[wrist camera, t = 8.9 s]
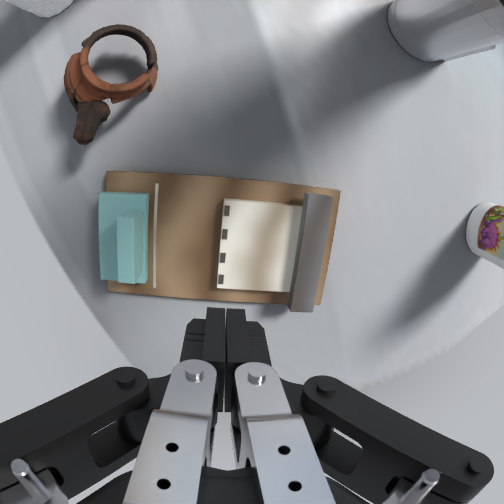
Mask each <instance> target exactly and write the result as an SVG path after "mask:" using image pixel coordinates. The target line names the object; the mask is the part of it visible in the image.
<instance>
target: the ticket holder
mask: <svg viewBox="0 0 504 504" xmlns="http://www.w3.org/2000/svg"><path fill="white" fill-rule="evenodd" d="M106 192H127V193H148V194H149V213H148V280H147V281H146V283H135V284H131V283H120V282H118V281H113V280H107V285H108V291H114V292H123V293H133V294H144V295H155V296H166V297H178V298H191V299H205V300H220V301H236V302H254V303H275V304H288V307H289V309H290V312H313V308H314V305H320V304H321V299H322V294H323V289H324V284H325V279H326V274H327V269H328V264H329V258H330V253H331V247H332V242H333V236H334V230H335V224H336V218H337V212H338V205H339V199H340V192H341V191H339V190H334V189H327V188H320V187H312V186H304V185H296V184H288V183H279V182H270V181H261V180H251V179H240V178H229V177H217V176H204V175H190V174H173V173H153V172H127V171H107V172H106Z"/></svg>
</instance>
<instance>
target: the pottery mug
mask: <svg viewBox="0 0 504 504" xmlns="http://www.w3.org/2000/svg"><path fill="white" fill-rule="evenodd" d="M114 34H117V35H125V36H128V37H131V38H133V39H134V40H136V41H137V42H138V43H139V44H140V45H141V46H142V47H143V49H144V50H145V53H146V56H147V67H148V69H147V71H146V73H142V74H141V75H140V76H139V77H138V78H136V79H135V80H133V81H131V82H127V83H123V84H110V83H108V82H105V81H103V80H101V79H99V78H98V77H97V76H96V75H95V74H94V73H93V72H92V71H91V69H90V67H89V63H88V55H89V51H90V48H91V47H92V45H93V44H94V43H95V42H96V41H98V40H99V39H101V38H103V37H105V36H108V35H114ZM82 46H83V48H82V50H81V52H79V53H76V54H74V55H72V56H71V58H70V60H69V61H68V63H67V66H66V69H65V75H64V85H65V89H66V92H67V95H68V97H69V99H70V101H71V103H72V105H73V106H74V108H75V109H76V111H77V112H78V115H77V124H76V128H75V132H74V134H73V137H74V139H75V140H76V141H77V142H78V143H79V144H82V145H87V144H88V143H89V142H91V141H92V140H93V138H94V136H95V133H96V129H97V128H98V126H99V125H100V124H101V123H103V122H105V121H106V120H107V118H108V116H109V115H110V109H109V106H108V104H106V103H105V102H103V101H102V100H105V99H107V98H110V99H111V102H112V104H114V103H118V102H121V101H123V100H126V99H129V98H131V97H133V96H135V95H137V94H139V93H141V92H142V91H143V90H145V89H146V88H147V87H148V86H149V88H148V92H152V90H153V88H154V86H155V83H156V79H157V71H158V65H157V54H156V50H155V47H154V44H153V43H152V41H151V40H150V39H149V37H148V36H146V35H145V34H144V33H143V32H142V31H141V30H138V29H136V28H134V27H132V26H128V25H118V24H117V25H111V26H107V27H103V28H101V29H99V30H97V31H95V32H93V33H92V35H91V36H90V37H88V38H87V39H86V40H84V41H83V42H82Z"/></svg>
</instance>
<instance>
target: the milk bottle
mask: <svg viewBox="0 0 504 504" xmlns="http://www.w3.org/2000/svg"><path fill="white" fill-rule="evenodd" d="M466 240H467V244H468V246H469V248H470V249H471V251H472V252H473V253H475V254H477V255H478V256H480V257H482V258H484V259H486V260H488V261H490V262H492V263H494V264H495V265H497V266H499V267H501V268H503V269H504V207H503V206H500V205H496V204H493V203H489V202H485V203H481V204H479V205H478V206H477V207H475V209H474V210H473V211H472V213H471V214H470V217H469V219H468V222H467V227H466Z"/></svg>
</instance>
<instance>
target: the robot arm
mask: <svg viewBox="0 0 504 504" xmlns="http://www.w3.org/2000/svg"><path fill="white" fill-rule="evenodd" d="M387 17H388V23H389V27H390V30H391V32H392V34H393V36H394V37H395V39H396V40H397V42H398V43H399V44H400V45H401V46H402V48H403V49H404V50H406V51H407V52H408V53H409V54H410V55H412V56H414V57H415V58H417V59H420V60H422V61H427V62H434V61H437V60H440V59H441V60H444V61H449V60H452V59H456V58H460V57H464V56H467V55H471V54H475V53H479V52H483V51H488V50H492V49H494V48H495V46H496V45H497V44H501V43H504V0H395V1H394V2H393V3H392V4H391V5H390V7H389V9H388V15H387ZM223 397H224V398H225V412H231V437H232V443H233V450H234V457H235V463H236V470H230V471H225V470H221V469H216V468H212V467H211V460H212V451H213V444H214V435H215V425H216V423H217V415H218V412H223ZM114 421H115V422H114ZM112 422H114V423H112ZM111 423H112V424H111ZM109 424H110V425H109ZM107 425H109V426H107ZM106 426H107V427H106ZM104 427H105V428H104ZM102 428H104V429H102ZM334 428H335V429H337V430H339V431H340V432H342V433H343V434H345V435H347V436H349V437H350V438H352V439H353V440H355V441H357V442H358V443H359V444H360V445H361V446H362V448H363V449H362V448H360V447H359V446H357V445H355V444H354V443H352V442H350V441H349V440H347V439H345V438H344V437H342V436H340V435H339V434H337V433H336V432H334V431H333V430H334ZM100 429H102V430H100ZM99 430H100V431H99ZM97 431H98V432H97ZM95 432H97V433H95ZM94 433H95V434H94ZM92 434H93V435H92ZM136 457H137V459H136V462H135V465H134V468H133V470H132V471H129V472H126V473H124V474H122V475H120V476H118V477H116V478H114V479H113V480H111V481H110V482H108V483H107V484H105V485H104V486H102V487H101V488H99V489H98V490H97V491H95V492H94V493H92V494H90V495H89V496H88V497H86V498H84V499H83V500H81V501H80V502H78V503H77V504H370V503H368V502H366V501H365V500H363V499H362V498H360V497H359V496H357V495H356V494H354V493H352V492H351V491H350V490H348V489H347V488H349V489H351V490H352V491H354V492H355V493H357V494H359V495H360V496H362V497H364V498H365V499H367V500H369V501H371V502H372V503H374V504H467V503H469V502H470V501H471V500H472V499H473V498H474V497H475V496H476V495H477V494H478V493H479V492H480V491H481V490H482V489H483V488H484V487H485V486H486V485H487V484H488V483H489V482H490V480H491V479H492V477H493V474H494V467H493V464H492V462H491V460H490V459H489V458H488V457H487V456H486V455H484V454H482V453H481V452H478V451H476V450H474V449H472V448H469V447H467V446H465V445H463V444H461V443H459V442H456V441H454V440H452V439H450V438H448V437H446V436H444V435H442V434H440V433H438V432H436V431H433V430H431V429H429V428H427V427H425V426H423V425H421V424H419V423H417V422H415V421H414V420H412V419H410V418H408V417H405V416H404V415H402V414H400V413H398V412H396V411H394V410H392V409H390V408H389V407H387V406H385V405H383V404H381V403H379V402H377V401H375V400H374V399H372V398H370V397H368V396H366V395H364V394H363V393H361V392H359V391H357V390H355V389H354V388H352V387H350V386H348V385H347V384H345V383H343V382H341V381H340V380H338V379H336V378H333V377H330V376H314V377H311V378H309V379H308V380H307V381H306V382H305V384H304V385H301V384H296V383H291V382H288V381H285V380H283V379H281V378H280V377H279V375H278V373H277V371H276V370H275V369H274V368H273V367H272V365H271V360H270V356H269V351H268V346H267V341H266V336H265V331H264V328H263V327H262V326H261V325H260V324H259V323H258V322H253V321H246V316H245V309H230V308H227V310H226V326H225V308H211V307H207V314H206V319H192V320H191V321H190V322H189V323H188V324H187V327H186V332H185V337H184V342H183V347H182V352H181V358H180V363H178V364H177V365H176V366H175V367H174V368H173V371H172V373H171V374H169V375H167V376H164V377H159V378H151V379H148V377H147V375H146V374H145V373H144V372H143V371H141V370H140V369H137V368H134V367H120V368H116V369H114V370H112V371H110V372H108V373H106V374H104V375H102V376H100V377H98V378H96V379H94V380H92V381H90V382H88V383H85V384H83V385H81V386H79V387H78V388H75V389H73V390H71V391H69V392H67V393H65V394H63V395H61V396H59V397H57V398H54V399H52V400H50V401H48V402H46V403H44V404H42V405H40V406H37V407H35V408H33V409H31V410H29V411H27V412H24V413H22V414H20V415H18V416H16V417H13V418H11V419H9V420H7V421H5V422H2V423H0V504H68V500H69V499H70V498H72V497H74V496H76V495H77V494H79V493H81V492H83V491H84V490H86V489H87V488H89V487H91V486H92V485H94V484H96V483H97V482H99V481H101V480H102V479H104V478H105V477H107V476H109V475H110V474H112V473H113V472H115V471H116V470H118V469H119V468H121V467H122V466H124V465H125V464H127V463H129V462H130V461H132V460H133V459H135V458H136ZM324 473H326V474H328V475H329V476H331V477H332V478H333V479H335V480H337V481H338V482H340V483H341V484H343V485H344V486H346V487H347V488H345V487H344V486H342V485H341V484H339V483H338V482H336V481H334V480H332V479H331V478H328V477H326V476H325V475H324Z"/></svg>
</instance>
